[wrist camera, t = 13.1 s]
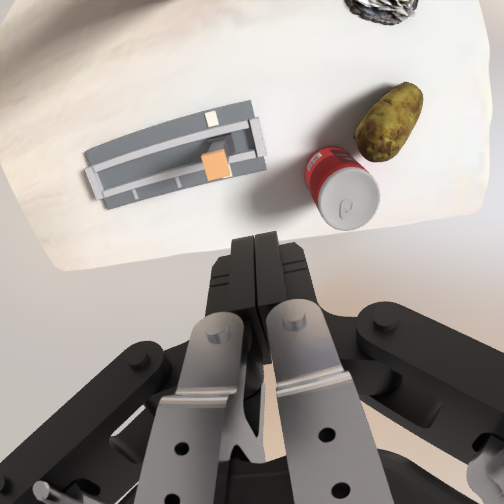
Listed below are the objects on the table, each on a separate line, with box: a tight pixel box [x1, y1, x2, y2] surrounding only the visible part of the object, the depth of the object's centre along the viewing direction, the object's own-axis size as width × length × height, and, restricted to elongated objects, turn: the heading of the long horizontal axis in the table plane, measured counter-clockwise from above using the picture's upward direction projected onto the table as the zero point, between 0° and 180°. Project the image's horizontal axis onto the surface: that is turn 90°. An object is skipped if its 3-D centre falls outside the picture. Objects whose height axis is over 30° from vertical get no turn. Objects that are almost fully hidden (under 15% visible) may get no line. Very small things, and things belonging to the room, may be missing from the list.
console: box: [85, 100, 267, 210], centre depth 42 cm, size 10×26×2 cm, turn 103°
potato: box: [353, 82, 423, 162], centre depth 37 cm, size 8×13×8 cm, turn 120°
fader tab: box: [201, 133, 236, 181], centre depth 37 cm, size 3×3×10 cm
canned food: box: [305, 147, 380, 231], centre depth 41 cm, size 8×8×11 cm
